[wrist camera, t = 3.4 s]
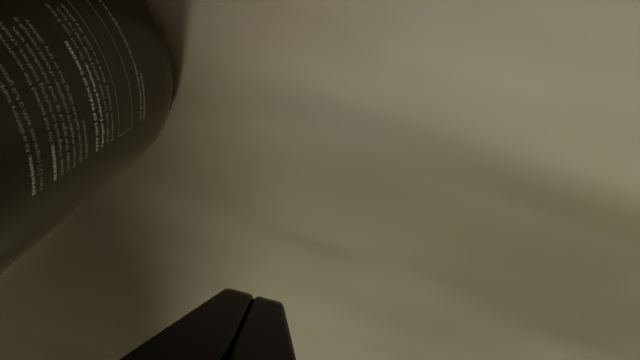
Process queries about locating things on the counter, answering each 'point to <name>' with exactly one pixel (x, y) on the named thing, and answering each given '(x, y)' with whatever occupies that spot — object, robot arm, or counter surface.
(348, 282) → the counter surface
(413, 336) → the counter surface
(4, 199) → the supplement bottle
